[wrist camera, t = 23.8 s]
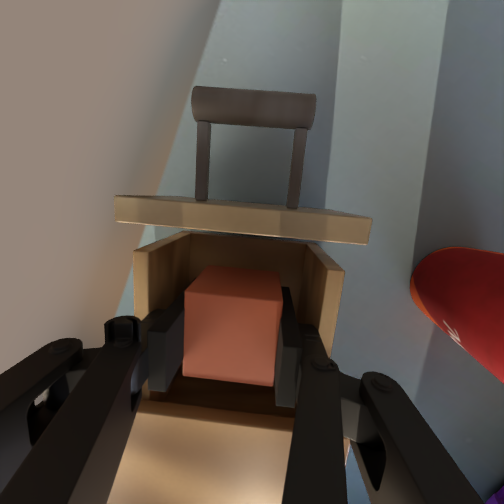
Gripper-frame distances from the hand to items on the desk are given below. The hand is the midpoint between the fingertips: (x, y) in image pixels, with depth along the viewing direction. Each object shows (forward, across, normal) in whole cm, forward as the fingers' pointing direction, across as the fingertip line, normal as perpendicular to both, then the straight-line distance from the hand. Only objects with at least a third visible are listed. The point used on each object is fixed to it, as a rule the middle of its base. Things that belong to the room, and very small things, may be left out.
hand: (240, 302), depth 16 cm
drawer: (+4, 0, +2) cm, 4 cm away
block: (0, 0, 0) cm, 0 cm away
